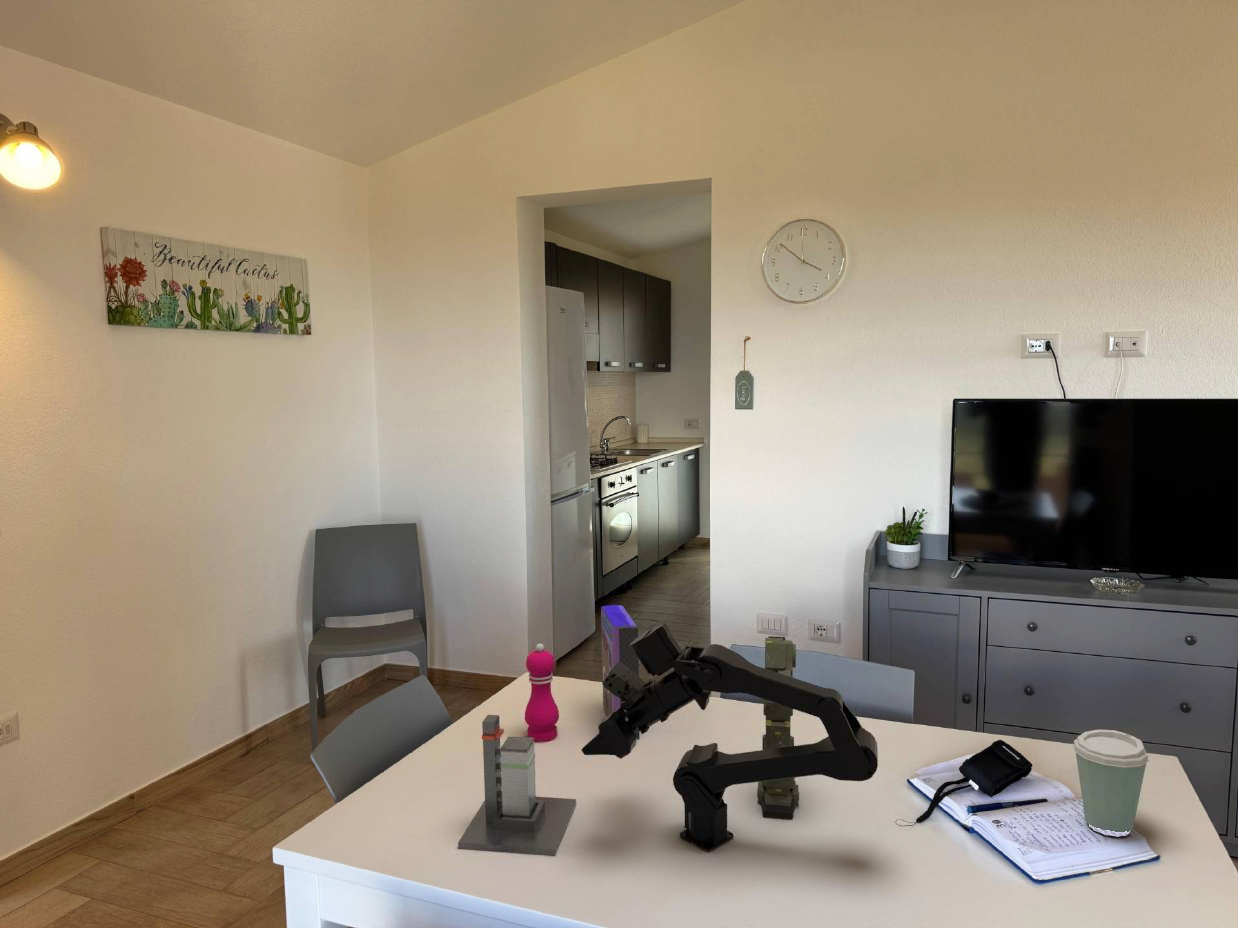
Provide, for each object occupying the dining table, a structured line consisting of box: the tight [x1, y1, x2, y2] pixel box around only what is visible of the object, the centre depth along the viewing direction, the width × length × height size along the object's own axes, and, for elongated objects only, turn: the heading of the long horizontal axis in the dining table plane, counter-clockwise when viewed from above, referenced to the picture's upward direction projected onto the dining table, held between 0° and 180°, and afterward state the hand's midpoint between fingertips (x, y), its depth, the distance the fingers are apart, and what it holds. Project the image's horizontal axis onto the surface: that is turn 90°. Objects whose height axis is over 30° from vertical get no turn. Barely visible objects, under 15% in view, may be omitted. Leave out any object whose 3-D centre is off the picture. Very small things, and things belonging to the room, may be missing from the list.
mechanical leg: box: [756, 635, 800, 821], centre depth 147 cm, size 14×7×30 cm, turn 168°
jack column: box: [500, 736, 537, 819], centre depth 141 cm, size 5×5×13 cm
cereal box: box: [600, 604, 641, 741], centre depth 181 cm, size 17×5×24 cm, turn 10°
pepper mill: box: [524, 643, 560, 743], centre depth 176 cm, size 7×7×20 cm
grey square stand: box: [457, 714, 577, 856], centre depth 140 cm, size 16×16×18 cm
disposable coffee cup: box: [1072, 729, 1149, 832], centre depth 137 cm, size 11×11×15 cm
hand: (592, 740), depth 141 cm, fingers open, 9 cm apart
